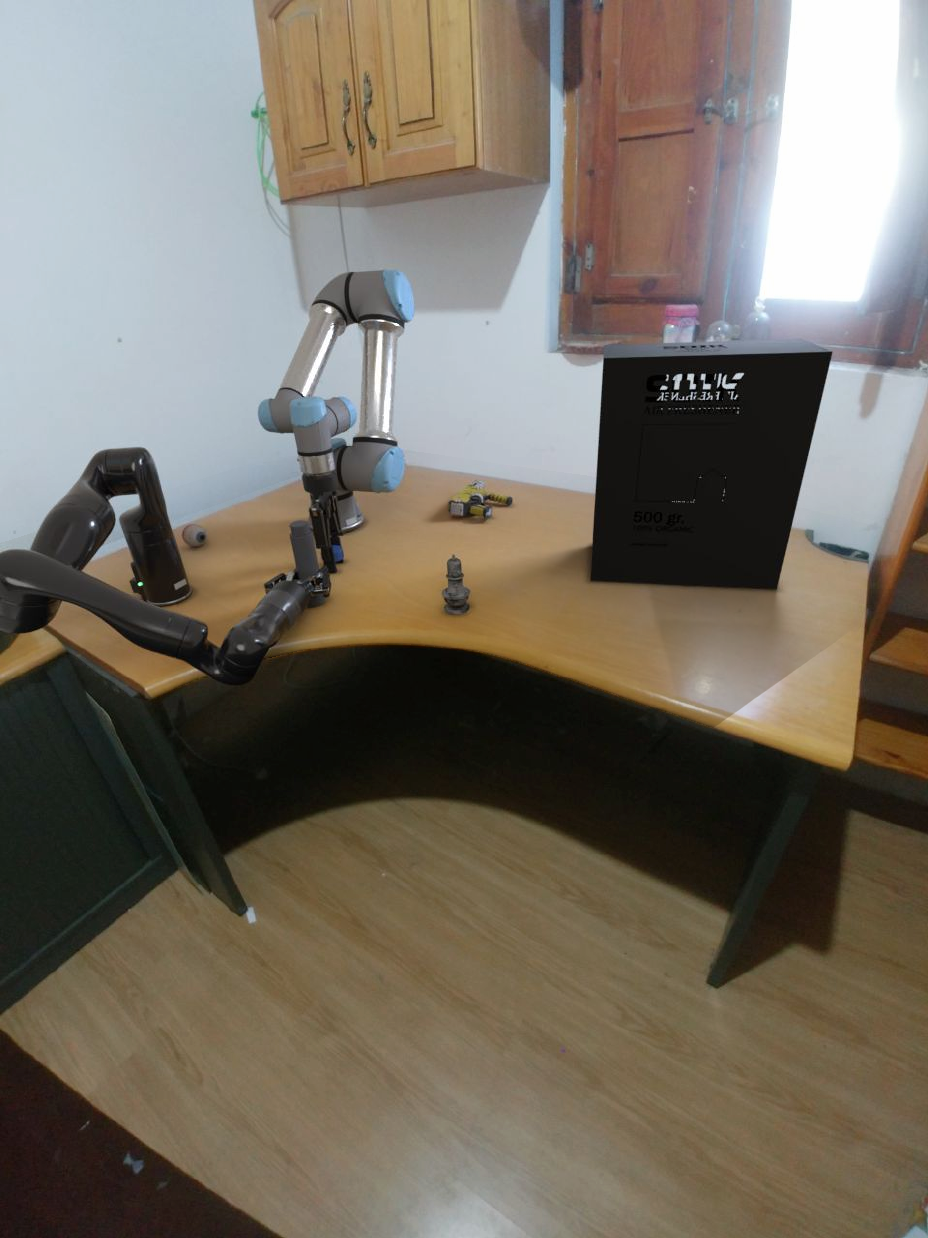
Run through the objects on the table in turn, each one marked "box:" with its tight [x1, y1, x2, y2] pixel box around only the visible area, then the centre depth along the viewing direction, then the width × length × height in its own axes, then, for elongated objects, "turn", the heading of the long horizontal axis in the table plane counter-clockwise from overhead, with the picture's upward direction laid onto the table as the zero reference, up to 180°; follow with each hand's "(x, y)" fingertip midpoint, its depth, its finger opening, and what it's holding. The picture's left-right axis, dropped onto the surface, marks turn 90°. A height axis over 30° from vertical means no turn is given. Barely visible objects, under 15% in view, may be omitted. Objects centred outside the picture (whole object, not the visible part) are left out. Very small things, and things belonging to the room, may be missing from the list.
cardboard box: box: [589, 338, 834, 590], centre depth 125 cm, size 38×20×45 cm, turn 78°
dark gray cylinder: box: [288, 519, 326, 608], centre depth 126 cm, size 5×5×18 cm
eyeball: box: [181, 523, 208, 548], centre depth 159 cm, size 6×6×6 cm
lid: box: [320, 545, 345, 562], centre depth 143 cm, size 5×5×2 cm
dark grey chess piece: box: [441, 553, 471, 615], centre depth 121 cm, size 6×6×12 cm
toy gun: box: [447, 479, 514, 521], centre depth 175 cm, size 5×24×15 cm
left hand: (314, 569), depth 129 cm, fingers closed on dark gray cylinder, 4 cm apart
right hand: (334, 566), depth 145 cm, fingers closed on lid, 5 cm apart
